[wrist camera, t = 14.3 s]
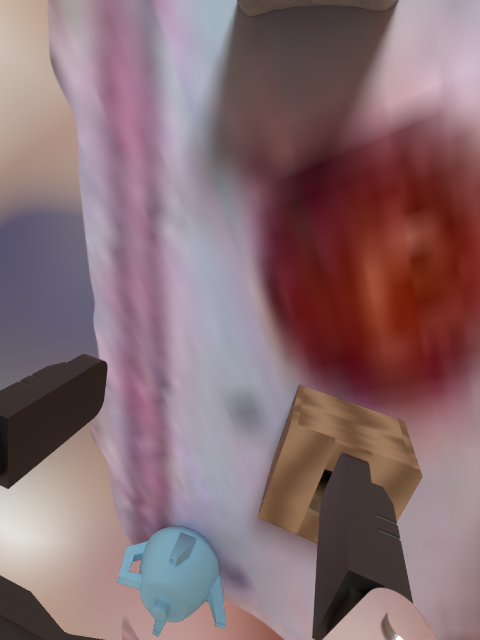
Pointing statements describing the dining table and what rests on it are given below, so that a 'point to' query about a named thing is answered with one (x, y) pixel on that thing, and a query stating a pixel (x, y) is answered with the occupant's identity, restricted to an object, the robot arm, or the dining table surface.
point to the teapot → (175, 576)
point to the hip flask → (309, 4)
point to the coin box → (333, 458)
